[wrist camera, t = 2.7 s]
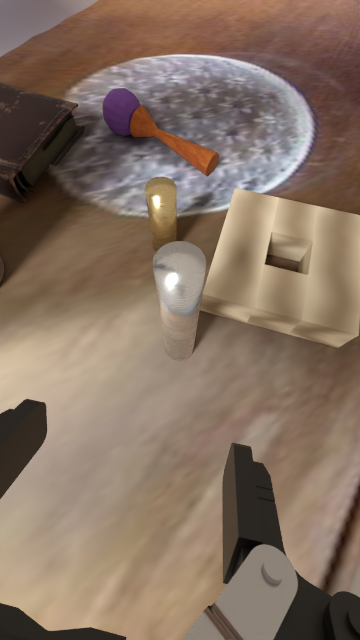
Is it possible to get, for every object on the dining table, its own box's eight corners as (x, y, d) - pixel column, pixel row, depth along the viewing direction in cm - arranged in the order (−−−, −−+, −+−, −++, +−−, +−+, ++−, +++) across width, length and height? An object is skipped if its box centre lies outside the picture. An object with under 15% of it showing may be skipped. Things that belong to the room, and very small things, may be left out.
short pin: (149, 250, 37) (140, 195, 29) (157, 232, 38) (151, 174, 30) (172, 256, 37) (170, 202, 28) (179, 237, 38) (180, 180, 30)
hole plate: (199, 310, 34) (202, 293, 30) (230, 211, 40) (235, 188, 36) (337, 347, 32) (358, 335, 28) (347, 238, 38) (365, 216, 34)
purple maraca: (201, 164, 38) (89, 98, 41) (200, 192, 44) (101, 133, 47) (226, 133, 39) (114, 71, 42) (221, 165, 45) (124, 109, 48)
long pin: (161, 355, 31) (145, 277, 17) (170, 329, 32) (162, 236, 18) (189, 363, 31) (198, 291, 16) (197, 337, 32) (211, 248, 17)
